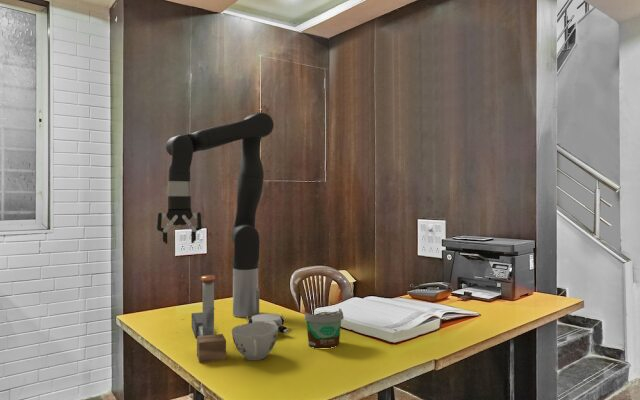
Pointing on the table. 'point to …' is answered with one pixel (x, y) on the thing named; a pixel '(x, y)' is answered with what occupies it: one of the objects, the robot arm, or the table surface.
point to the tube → (207, 306)
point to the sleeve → (196, 322)
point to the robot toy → (270, 320)
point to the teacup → (255, 339)
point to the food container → (324, 329)
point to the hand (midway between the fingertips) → (179, 243)
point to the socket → (211, 348)
